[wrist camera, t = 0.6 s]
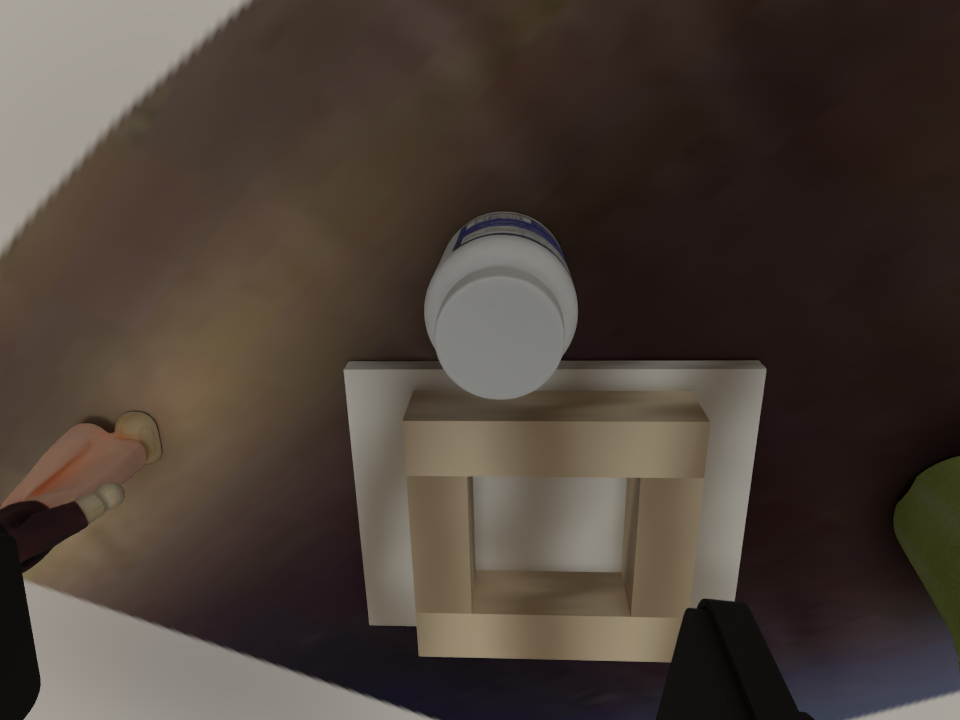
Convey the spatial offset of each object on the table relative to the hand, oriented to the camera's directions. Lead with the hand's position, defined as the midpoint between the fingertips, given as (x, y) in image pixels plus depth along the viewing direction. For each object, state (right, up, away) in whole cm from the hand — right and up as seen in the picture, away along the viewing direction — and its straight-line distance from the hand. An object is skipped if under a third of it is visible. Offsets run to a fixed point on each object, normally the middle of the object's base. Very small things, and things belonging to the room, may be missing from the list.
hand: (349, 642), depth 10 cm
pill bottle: (+3, +8, +19) cm, 21 cm away
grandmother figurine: (-16, 0, +23) cm, 28 cm away
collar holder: (+5, -3, +23) cm, 24 cm away
